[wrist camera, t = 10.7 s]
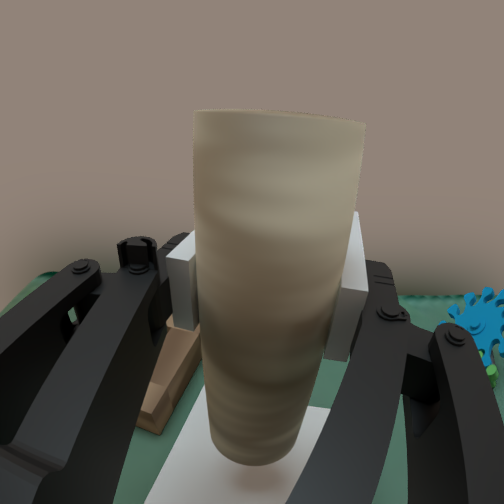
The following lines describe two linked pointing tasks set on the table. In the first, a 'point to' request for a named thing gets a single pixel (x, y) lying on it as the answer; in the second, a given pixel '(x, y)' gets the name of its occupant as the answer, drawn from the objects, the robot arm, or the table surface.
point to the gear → (483, 326)
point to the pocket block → (170, 376)
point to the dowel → (268, 265)
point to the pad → (229, 466)
